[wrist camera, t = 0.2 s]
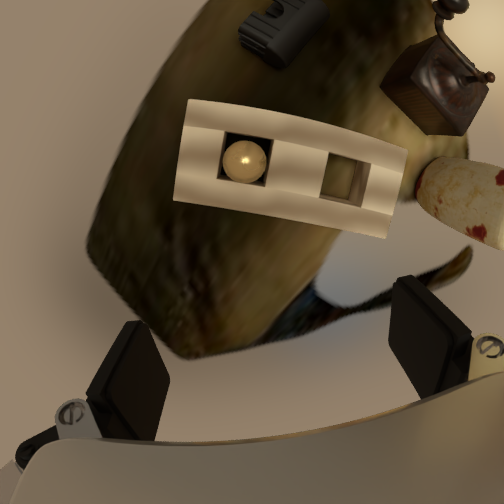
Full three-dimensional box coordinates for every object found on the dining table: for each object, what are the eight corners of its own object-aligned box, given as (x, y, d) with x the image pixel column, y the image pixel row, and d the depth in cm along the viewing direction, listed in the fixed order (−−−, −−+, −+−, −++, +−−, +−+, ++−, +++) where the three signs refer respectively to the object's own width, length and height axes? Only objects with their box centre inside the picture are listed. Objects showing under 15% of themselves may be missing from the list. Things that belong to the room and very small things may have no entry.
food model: (427, 144, 35) (528, 159, 16) (453, 169, 36) (548, 197, 18) (399, 198, 38) (491, 244, 19) (427, 220, 39) (515, 272, 21)
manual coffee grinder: (454, 90, 32) (536, 84, 15) (425, 136, 35) (513, 145, 18) (384, 20, 28) (451, -26, 11) (348, 63, 31) (415, 19, 15)
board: (196, 104, 33) (188, 99, 29) (390, 148, 36) (408, 150, 31) (182, 193, 38) (173, 200, 33) (371, 228, 40) (385, 239, 35)
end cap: (282, 74, 32) (289, 61, 26) (237, 47, 31) (235, 29, 24) (322, 26, 29) (336, 7, 23) (279, 0, 28) (285, -23, 22)
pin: (232, 139, 35) (226, 137, 25) (263, 144, 36) (270, 144, 25) (227, 169, 37) (219, 179, 26) (257, 174, 37) (262, 186, 27)
